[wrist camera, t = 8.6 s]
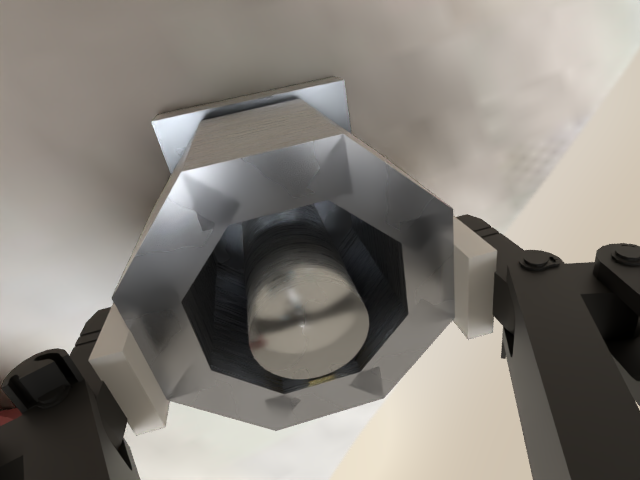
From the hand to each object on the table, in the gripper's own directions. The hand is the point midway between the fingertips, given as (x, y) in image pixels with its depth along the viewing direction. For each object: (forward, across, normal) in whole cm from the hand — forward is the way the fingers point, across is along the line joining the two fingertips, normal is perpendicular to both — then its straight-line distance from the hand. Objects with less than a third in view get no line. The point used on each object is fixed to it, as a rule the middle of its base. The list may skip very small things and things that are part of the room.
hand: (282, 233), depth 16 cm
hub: (0, 0, 0) cm, 1 cm away
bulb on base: (+3, 0, 0) cm, 3 cm away
